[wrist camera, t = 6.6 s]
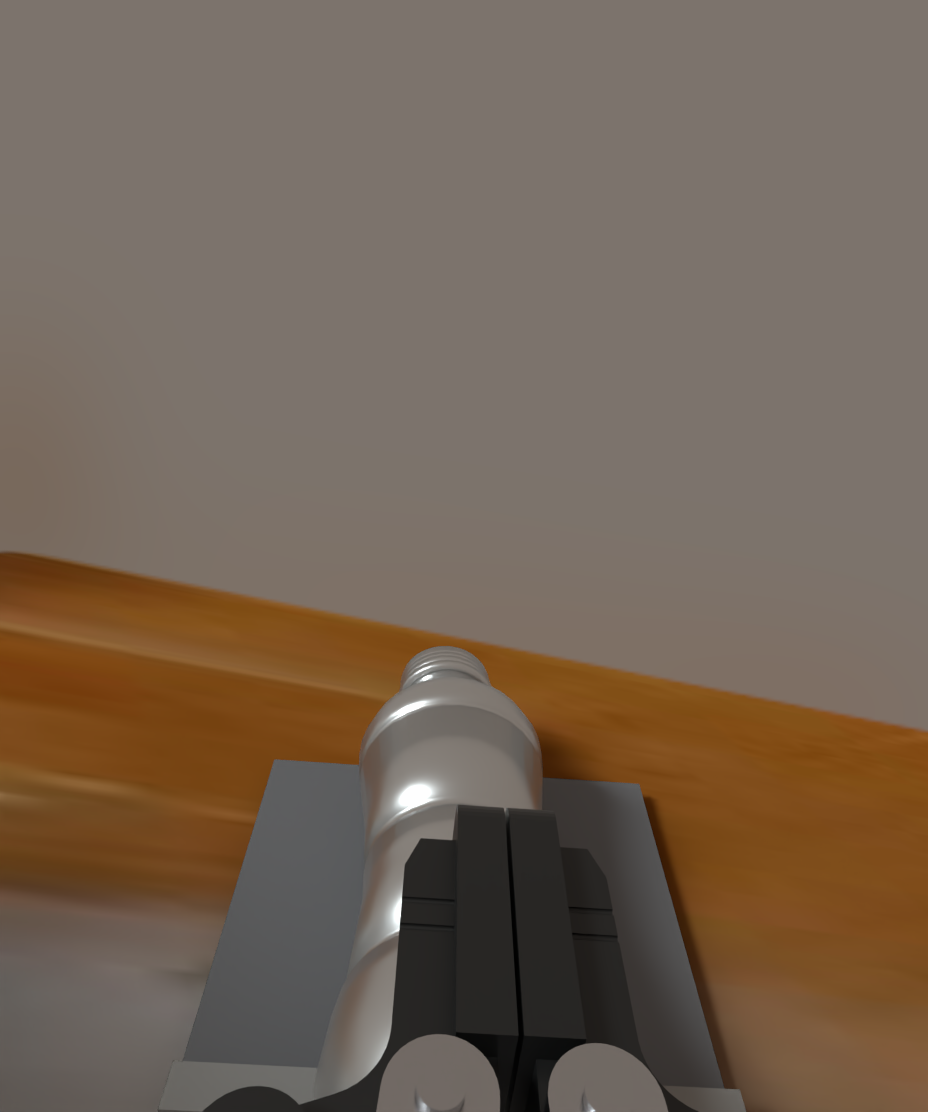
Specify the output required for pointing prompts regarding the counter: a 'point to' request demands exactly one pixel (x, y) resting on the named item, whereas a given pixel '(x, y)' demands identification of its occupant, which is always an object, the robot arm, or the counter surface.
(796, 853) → the counter surface
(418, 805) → the silver aluminum bottle
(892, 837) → the counter surface
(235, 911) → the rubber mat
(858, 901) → the counter surface
